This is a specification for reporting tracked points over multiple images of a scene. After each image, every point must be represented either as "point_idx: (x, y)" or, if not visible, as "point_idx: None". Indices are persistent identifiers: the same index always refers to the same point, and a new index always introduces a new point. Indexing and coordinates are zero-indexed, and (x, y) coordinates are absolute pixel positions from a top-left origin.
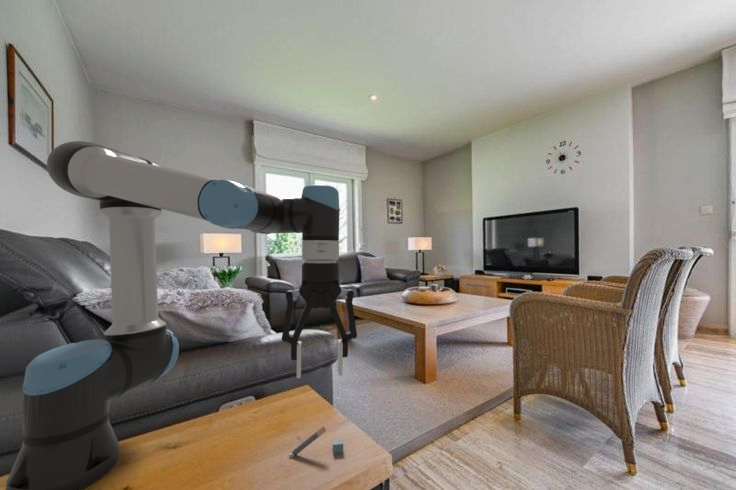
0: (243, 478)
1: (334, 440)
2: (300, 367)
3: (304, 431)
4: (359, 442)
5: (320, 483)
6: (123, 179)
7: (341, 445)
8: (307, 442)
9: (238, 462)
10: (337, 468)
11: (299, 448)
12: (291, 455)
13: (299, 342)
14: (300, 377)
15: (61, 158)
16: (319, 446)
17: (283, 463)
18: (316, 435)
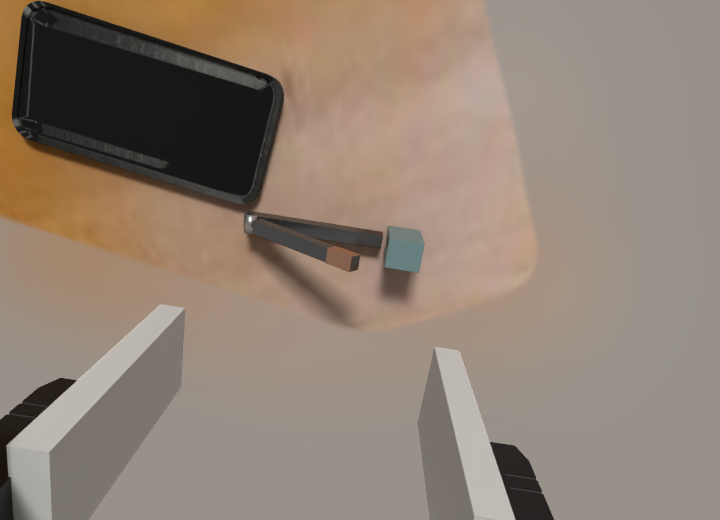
0: (123, 238)
1: (394, 244)
2: (151, 428)
3: (314, 46)
4: (497, 188)
5: (330, 323)
6: None
7: (412, 271)
8: (295, 249)
9: (93, 160)
10: (388, 285)
11: (272, 240)
12: (250, 233)
13: (32, 492)
14: (179, 388)
15: None
16: (356, 164)
17: (233, 211)
18: (324, 261)
